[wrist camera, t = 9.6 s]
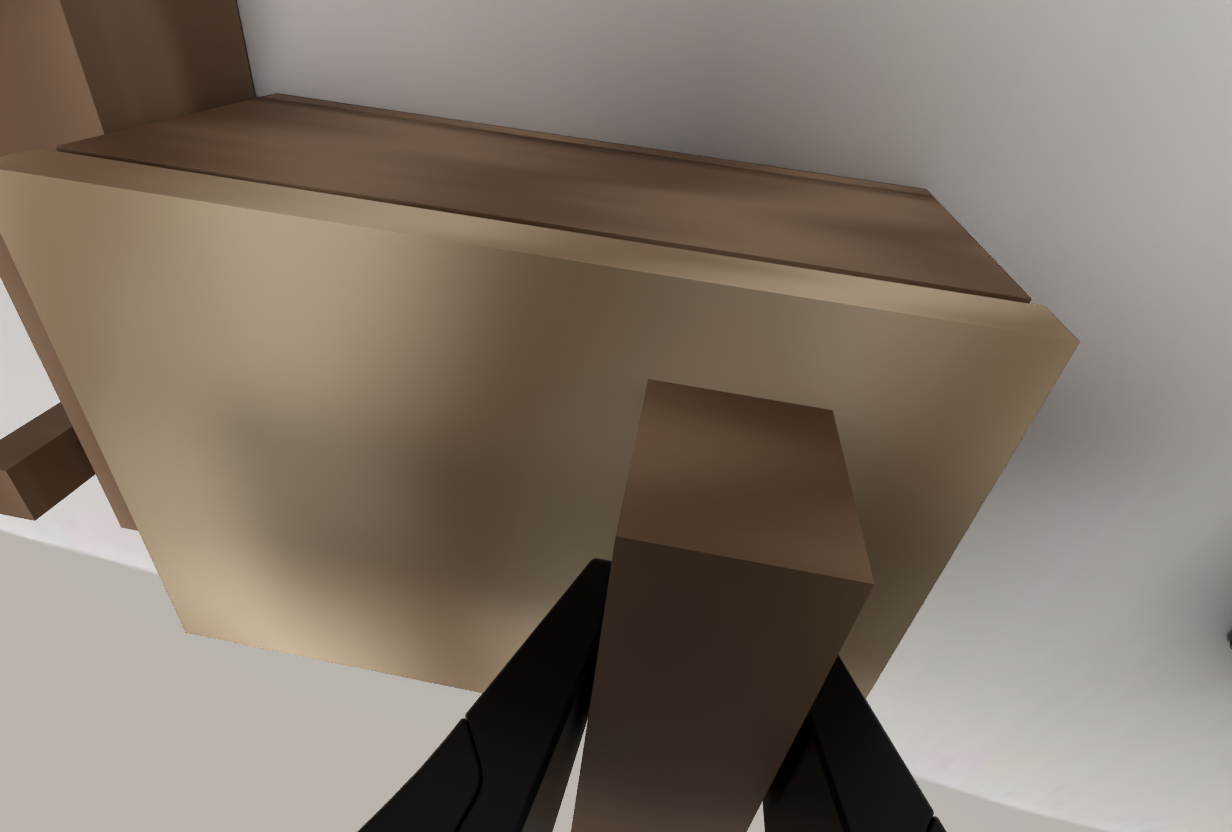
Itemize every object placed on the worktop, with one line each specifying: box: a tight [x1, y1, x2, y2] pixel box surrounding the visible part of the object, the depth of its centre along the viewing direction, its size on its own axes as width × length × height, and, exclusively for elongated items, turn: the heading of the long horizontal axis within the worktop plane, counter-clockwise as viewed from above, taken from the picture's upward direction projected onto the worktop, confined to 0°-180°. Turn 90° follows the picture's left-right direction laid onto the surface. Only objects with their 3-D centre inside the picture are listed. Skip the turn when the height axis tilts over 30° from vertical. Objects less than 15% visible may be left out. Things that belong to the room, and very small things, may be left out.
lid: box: [0, 148, 1080, 832], centre depth 10 cm, size 14×10×4 cm
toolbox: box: [0, 0, 1031, 531], centre depth 11 cm, size 19×21×6 cm
